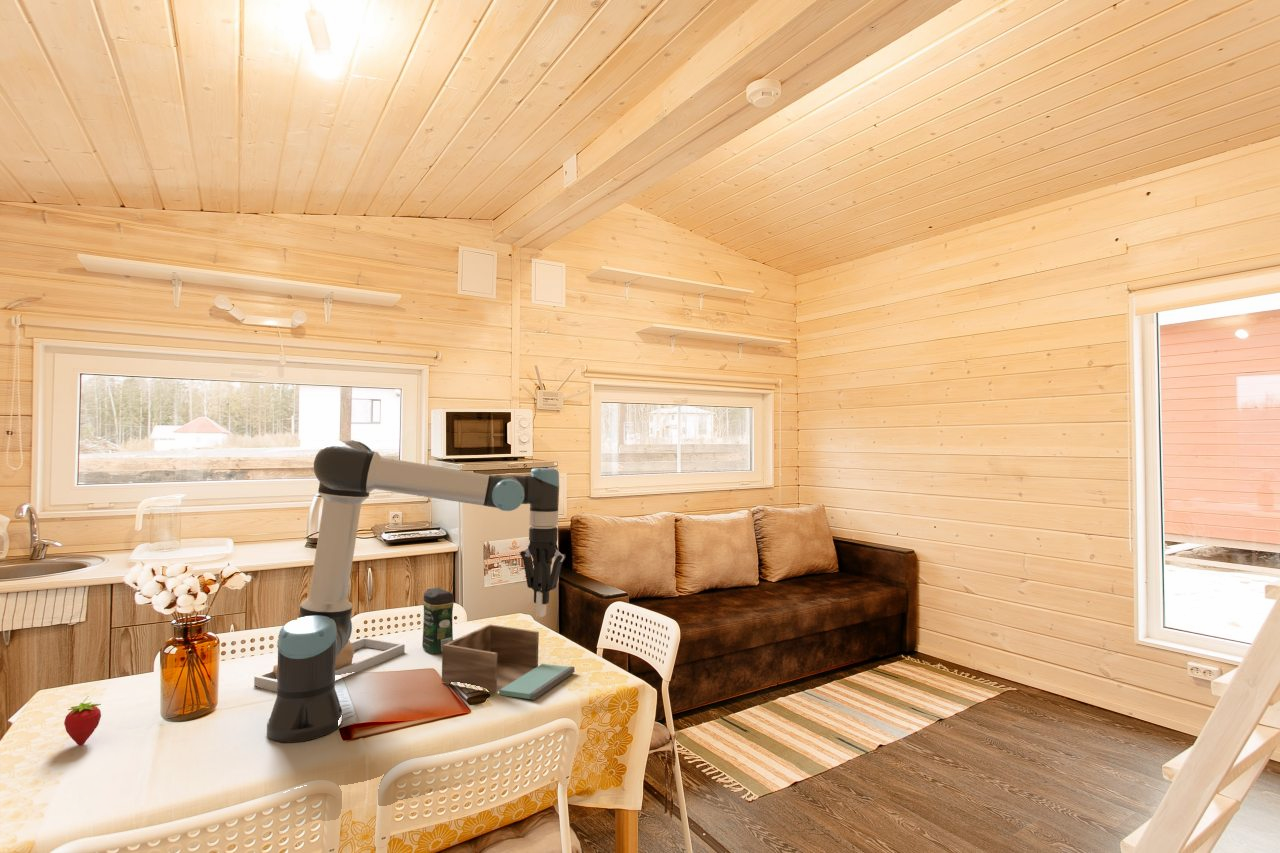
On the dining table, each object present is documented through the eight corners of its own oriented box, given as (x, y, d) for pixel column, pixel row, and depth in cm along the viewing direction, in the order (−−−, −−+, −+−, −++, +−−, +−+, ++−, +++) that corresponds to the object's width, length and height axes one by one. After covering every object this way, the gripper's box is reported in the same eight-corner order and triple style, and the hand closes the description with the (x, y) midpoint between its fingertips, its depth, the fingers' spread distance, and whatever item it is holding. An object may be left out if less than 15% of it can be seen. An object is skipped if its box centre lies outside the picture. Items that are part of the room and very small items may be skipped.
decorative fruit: (100, 734, 141) (101, 687, 141) (100, 747, 135) (102, 698, 135) (63, 742, 137) (65, 694, 137) (62, 755, 131) (64, 706, 131)
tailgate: (499, 695, 163) (534, 699, 159) (499, 689, 163) (533, 694, 159) (542, 668, 183) (574, 672, 179) (542, 663, 183) (574, 666, 179)
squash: (360, 673, 180) (359, 643, 178) (280, 699, 167) (277, 668, 166) (349, 656, 188) (347, 627, 186) (271, 679, 176) (269, 649, 174)
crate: (494, 697, 164) (495, 654, 164) (441, 687, 170) (442, 645, 170) (537, 670, 183) (538, 631, 183) (489, 662, 190) (490, 624, 190)
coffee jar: (418, 648, 201) (419, 588, 201) (442, 643, 206) (443, 584, 206) (431, 656, 194) (433, 594, 194) (456, 650, 199) (457, 590, 199)
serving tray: (298, 696, 162) (298, 686, 162) (254, 686, 168) (254, 676, 169) (404, 652, 197) (404, 644, 197) (364, 645, 203) (364, 637, 203)
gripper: (572, 526, 173) (569, 615, 172) (530, 523, 178) (527, 609, 177) (557, 530, 166) (554, 622, 165) (514, 526, 171) (512, 615, 170)
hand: (540, 615), depth 171 cm, fingers closed
